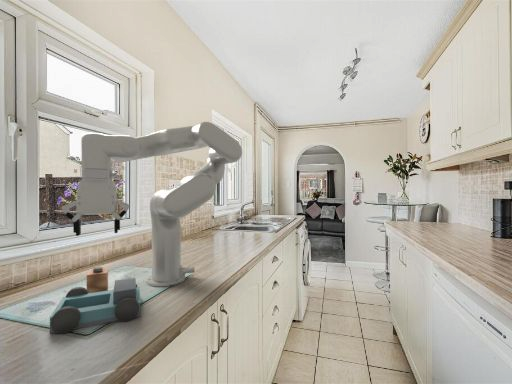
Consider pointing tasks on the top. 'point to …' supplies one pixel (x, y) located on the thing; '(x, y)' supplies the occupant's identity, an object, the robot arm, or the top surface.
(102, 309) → the chassis
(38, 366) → the top surface
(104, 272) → the orange block with knob
